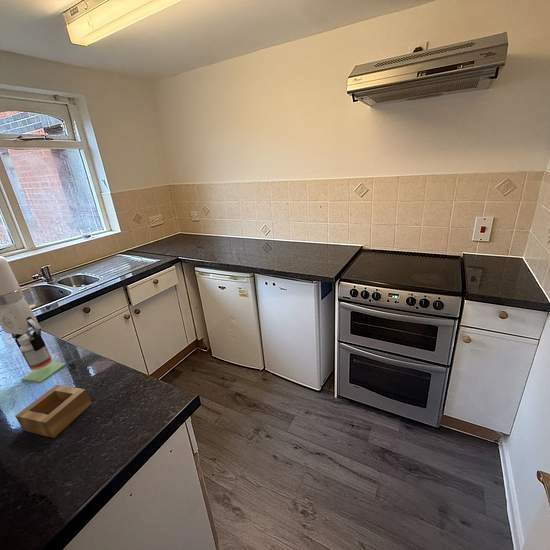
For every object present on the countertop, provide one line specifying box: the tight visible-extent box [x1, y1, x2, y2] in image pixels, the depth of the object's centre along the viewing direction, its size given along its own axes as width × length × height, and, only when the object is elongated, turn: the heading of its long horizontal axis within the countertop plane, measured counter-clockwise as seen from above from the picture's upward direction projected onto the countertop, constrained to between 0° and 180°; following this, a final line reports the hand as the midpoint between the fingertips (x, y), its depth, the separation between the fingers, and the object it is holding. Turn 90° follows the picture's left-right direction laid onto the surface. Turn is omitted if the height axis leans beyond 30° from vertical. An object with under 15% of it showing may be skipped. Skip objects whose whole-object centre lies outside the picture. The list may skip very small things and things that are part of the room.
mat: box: [21, 361, 68, 384], centre depth 99 cm, size 9×9×1 cm
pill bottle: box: [17, 331, 53, 371], centre depth 96 cm, size 6×6×11 cm
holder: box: [14, 384, 93, 439], centre depth 78 cm, size 11×11×5 cm
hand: (32, 347), depth 96 cm, fingers closed on pill bottle, 6 cm apart
